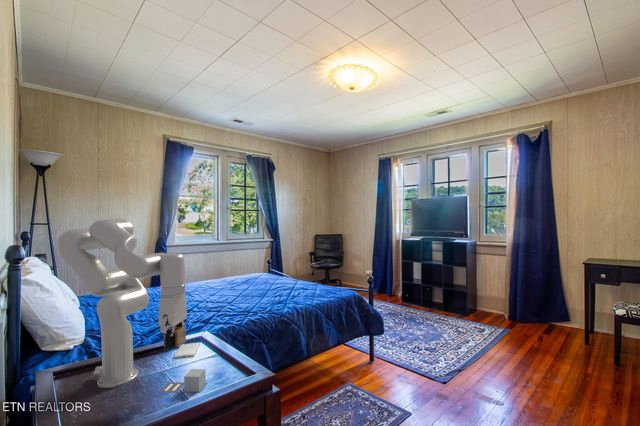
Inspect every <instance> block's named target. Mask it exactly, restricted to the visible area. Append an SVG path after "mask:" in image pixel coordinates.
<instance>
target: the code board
mask: <svg viewBox="0 0 640 426" xmlns="http://www.w3.org/2000/svg"><path fill="white" fill-rule="evenodd" d="M207 384H208V382H206V384H205V385H204V386H203V388H202V389H201V390H200V391H199V392H184V390H183V391H182V393H183V394H186V393H187V394H200V393H201V392H202V391H203V390H204V389H205V388H206V386H207ZM182 387H184V382H170V381H169V382H168V383H167V384H166V385H165V386H164V387H163V388H161V390H160V391H159V393H175V394H176V393H178V391H179V390H180V389H182Z"/></svg>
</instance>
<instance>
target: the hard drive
mask: <svg viewBox="0 0 640 426" xmlns="http://www.w3.org/2000/svg"><path fill="white" fill-rule="evenodd" d="M200 345H201V343H200V342H192V343H191V342H190V343H183V344H182V345H181V346H180V347H178V348H177V351H176V352H175V354H174V356H173V360H175V359H185V358H186V359H187V358H194V357H195V356H196V354H197V352H198V350H199V348H200Z"/></svg>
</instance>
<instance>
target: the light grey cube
mask: <svg viewBox="0 0 640 426" xmlns="http://www.w3.org/2000/svg"><path fill="white" fill-rule="evenodd" d="M206 379H207V377H206V368H191V369H189V371H188V372H187V373H186V374H185V375H184V376H183V383H184V385H183V387H184V388H183V389H184V390H183V391H184V392H199V391H200V390H201V389H202V388H203V386H204V385H205V384H206V383H207V382H206ZM203 389H204V388H203Z"/></svg>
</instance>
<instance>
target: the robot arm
mask: <svg viewBox="0 0 640 426" xmlns="http://www.w3.org/2000/svg"><path fill="white" fill-rule="evenodd" d="M134 231H135V230H134V226H133V224H132V223H131V222H130V221H128V220H127V219H124V218H114V219H113V218H112V219H109V218H107V219H105V218H104V219H99V220H96V221H94V222H93V223H92V224H91V225H90V226H89V227H85V228H84V227H82V228H74V229H73V228H72V229H69V230H66V231H64V232H62V233H61V234H60V235H59V236H58V239H57V249H58V250H57V251H58V253H59V255H60V257H61V259H62V261H64V262H65V264H66V265H67V266H68V267H70V269H72V271H74V273H75V274H76V275H77V277H78V278H79V280H80V281H81V283H82V284H83V286H84V287H85V289H86V290H87V291H88V292H89V293H90V294H91V295H92V296H93V297H101V298H100V299H99V300H98V303H97V304H96V313H97V316H98V319H99V324H100V335H101V336H100V337H101V343H100V344H101V362H102V363H101V365H100V366H96V367H95V369H94V371H93V375H94V376H99V377H98V379H97V382H96V383H97V384H96V385H97V387H98V388H101V389H102V388H103V389H112V388H117V387H118V386H120V385H124V384H126V383H128V382H130V381H132V380H133V379H135V378H136V377H138V375H139V370H138V368H136V367H134V349H133V348H134V347H133V346H134V345H133V344H134V343H133V326H132V324H131V323H130V322H129V320H128V319H127V317H128V316H129V315H132V314H135V313H138V312H141V311H143V310H144V309H146V308H147V307H148V305H149V303H150V296H149V293H148V291H147V290H146V288H145V286H144V285H143V284H142V282H141V281H140V280H139V279H146V278H149V277H155V276H159V279H160V282H159V283H160V296H161V297H160V298H159V299H160V300H159V308H158V326H159V331H160V332H161V333H162V334H163V337H164V336H165V347H164V348H165V349H174V348H176V347H175V335H174V328H175V327H186V325H185V323H186V319H187V317H188V312H187V309H188V307H187V299H186V280H185V279H186V277H185V258H184V255H183V254H182V253H166V252H156V253H149V254H143V255H142V254H141V255H139V254H138V255H137V254H136V253H134V252H133V251H134V250H135V248H136V247H137V244H138V243H137V242H138V239H137V237H136V236H135V235H134ZM100 249H107V250H109V251H110V252H112V253H113V258H114V263H115V264H116V267H110V268H109V267H106V266H105V265H104V264H103V262H102V260H101V259H100V258H98V257H97V256H96V255H94V254H93V253H90V252H88V251H89V250H90V251H91V250H100ZM170 328H171V331H170V330H168V329H170Z"/></svg>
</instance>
